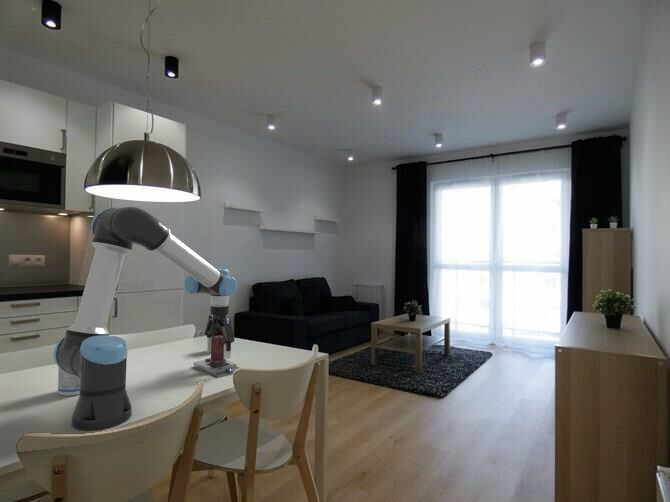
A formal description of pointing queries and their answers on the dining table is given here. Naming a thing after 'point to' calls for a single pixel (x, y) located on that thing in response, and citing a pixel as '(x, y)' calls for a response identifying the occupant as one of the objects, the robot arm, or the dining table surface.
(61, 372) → the supplement tub
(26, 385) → the dining table surface
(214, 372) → the link plate lower
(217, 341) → the can
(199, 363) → the link plate upper
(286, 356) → the dining table surface
